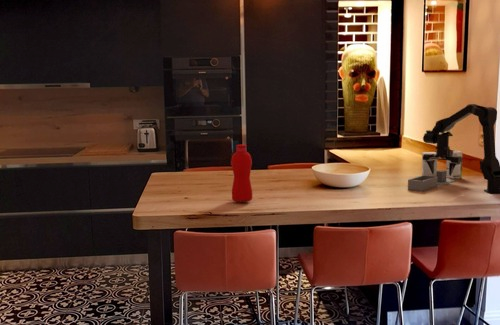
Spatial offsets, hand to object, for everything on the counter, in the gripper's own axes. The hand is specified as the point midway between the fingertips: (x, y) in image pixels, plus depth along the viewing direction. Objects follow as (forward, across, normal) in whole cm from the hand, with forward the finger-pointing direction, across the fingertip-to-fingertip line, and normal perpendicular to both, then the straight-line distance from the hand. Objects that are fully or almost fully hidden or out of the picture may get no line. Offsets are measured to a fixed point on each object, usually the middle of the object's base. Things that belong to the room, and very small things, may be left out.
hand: (441, 174), depth 267 cm
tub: (+4, 0, +21) cm, 21 cm away
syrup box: (+4, +1, -17) cm, 18 cm away
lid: (+4, 0, 0) cm, 4 cm away
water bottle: (+4, +49, +96) cm, 108 cm away
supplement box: (+4, +15, -18) cm, 23 cm away
